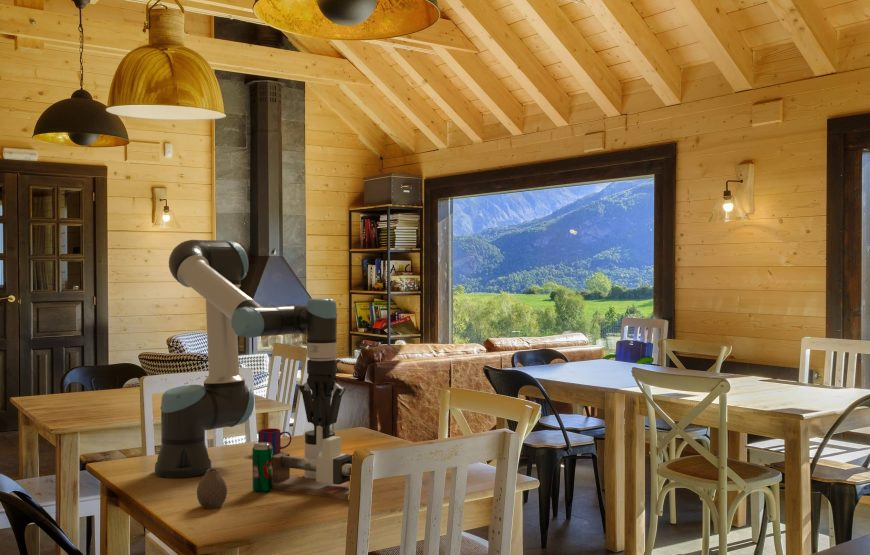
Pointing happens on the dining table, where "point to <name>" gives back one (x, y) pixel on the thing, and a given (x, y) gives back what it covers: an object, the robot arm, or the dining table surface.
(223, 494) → the vase
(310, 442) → the jar
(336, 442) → the sleeve
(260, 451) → the soda can
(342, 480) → the dark grey square collar
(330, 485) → the stand
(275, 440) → the mug
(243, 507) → the dining table surface
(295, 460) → the pipe
